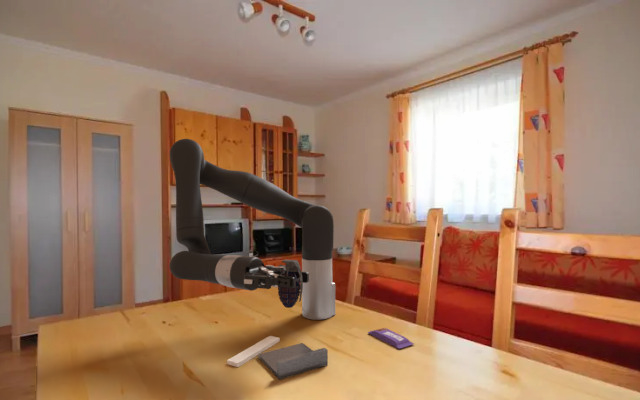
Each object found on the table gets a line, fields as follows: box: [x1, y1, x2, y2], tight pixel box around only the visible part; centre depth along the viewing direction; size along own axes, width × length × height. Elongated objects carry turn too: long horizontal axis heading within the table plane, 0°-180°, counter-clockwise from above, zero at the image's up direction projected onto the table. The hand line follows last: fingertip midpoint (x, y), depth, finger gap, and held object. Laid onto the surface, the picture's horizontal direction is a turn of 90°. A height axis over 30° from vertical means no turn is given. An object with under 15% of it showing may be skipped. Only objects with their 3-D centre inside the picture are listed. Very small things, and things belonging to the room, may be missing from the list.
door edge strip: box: [226, 335, 281, 368], centre depth 77 cm, size 15×3×1 cm, turn 152°
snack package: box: [367, 327, 415, 349], centre depth 83 cm, size 12×2×5 cm
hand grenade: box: [277, 259, 303, 309], centre depth 72 cm, size 6×5×10 cm
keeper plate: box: [257, 342, 329, 381], centre depth 72 cm, size 11×11×3 cm
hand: (301, 280), depth 71 cm, fingers closed on hand grenade, 4 cm apart
